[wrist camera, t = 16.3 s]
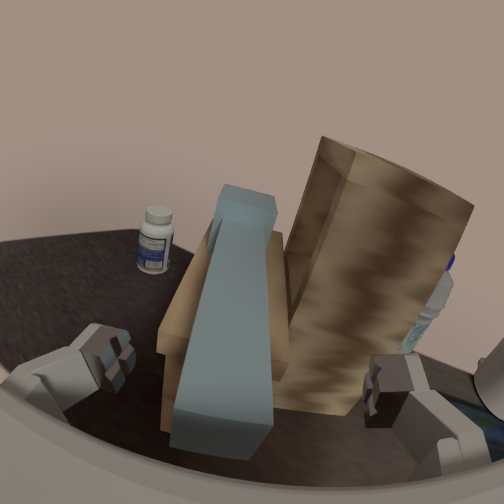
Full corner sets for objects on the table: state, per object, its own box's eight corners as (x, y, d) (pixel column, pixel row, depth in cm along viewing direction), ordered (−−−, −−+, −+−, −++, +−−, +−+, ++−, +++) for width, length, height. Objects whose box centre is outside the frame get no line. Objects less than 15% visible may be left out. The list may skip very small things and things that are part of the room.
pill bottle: (151, 254, 50) (158, 201, 46) (175, 267, 48) (184, 212, 44) (129, 264, 45) (134, 208, 41) (153, 279, 44) (160, 221, 40)
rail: (260, 241, 31) (274, 196, 29) (265, 461, 11) (309, 405, 9) (213, 229, 31) (224, 183, 29) (152, 442, 10) (152, 377, 8)
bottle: (343, 359, 39) (412, 230, 30) (373, 349, 42) (437, 234, 33) (371, 393, 34) (457, 262, 25) (399, 379, 37) (476, 261, 28)
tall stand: (330, 338, 42) (407, 168, 31) (345, 415, 30) (474, 205, 18) (258, 322, 42) (321, 135, 30) (252, 403, 29) (356, 151, 18)
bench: (251, 323, 41) (282, 232, 35) (238, 453, 23) (289, 362, 17) (195, 309, 41) (215, 215, 35) (153, 433, 23) (158, 329, 17)
